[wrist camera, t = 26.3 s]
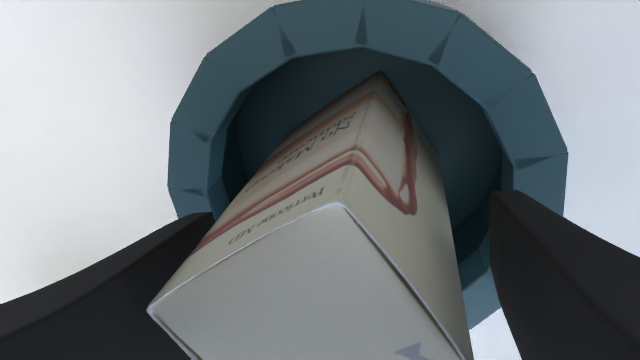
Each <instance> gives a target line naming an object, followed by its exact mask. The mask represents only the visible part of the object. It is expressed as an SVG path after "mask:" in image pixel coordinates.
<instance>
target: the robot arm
mask: <svg viewBox="0 0 640 360" xmlns="http://www.w3.org/2000/svg"><path fill="white" fill-rule="evenodd" d="M489 212H490V267H491V271H492V275H493V279H494V283H495V287H496V291H497V295H498V299H499V302H500V304H501V307H502V310H503V312H504V315H505V317H506V320H507V323H508V325H509V328H510V330H511V333H512V335H513V338H514V340H515V343H516V345H517V348H518V350H519V353H520V356H521V358H522V360H640V257H638V256H635V255H633V254H631V253H629V252H627V251H625V250H623V249H621V248H619V247H617V246H615V245H613V244H611V243H609V242H607V241H605V240H603V239H601V238H599V237H598V236H596V235H594V234H592V233H590V232H588V231H587V230H585V229H583V228H581V227H579V226H578V225H576V224H574V223H572V222H571V221H569V220H567V219H566V218H564V217H562V216H561V215H559V214H557V213H556V212H554V211H552V210H551V209H549V208H547V207H546V206H544V205H543V204H541V203H539V202H538V201H536V200H535V199H533V198H531V197H530V196H528V195H526V194H525V193H523V192H521V191H519V190H507V191H493V192H489ZM215 223H216V220H215V217H214V214H213V212H200V213H192V214H189V215H186V216H184V217H182V218H180V219H178V220H175V221H173V222H172V223H170V224H168V225H166V226H164V227H162V228H160V229H158V230H156V231H155V232H153V233H151V234H149V235H147V236H145V237H144V238H142V239H140V240H138V241H136V242H135V243H133V244H131V245H129V246H127V247H125V248H124V249H122V250H120V251H118V252H116V253H114V254H112V255H110V256H108V257H106V258H104V259H103V260H101V261H99V262H97V263H95V264H93V265H91V266H89V267H87V268H85V269H83V270H81V271H79V272H77V273H75V274H73V275H71V276H68V277H66V278H64V279H62V280H60V281H57V282H55V283H53V284H51V285H48V286H46V287H44V288H41V289H39V290H37V291H34V292H32V293H29V294H27V295H24V296H22V297H19V298H16V299H14V300H11V301H8V302H6V303H3V304H0V360H191V358H190V357H189V356H188V355H187V354H186V353H185V351H184V350H183V349H181V347H180V346H179V345H178V344H177V343H176V342H175V341H174V340H173V339H172V338H171V337H170V335H169V334H168V333H167V332H166V331H165V330H164V329H163V328H162V327H161V326H160V325H159V324H158V323H157V322H156V321H154V320H153V318H152V317H151V316H150V315H149V314H148V313H147V310H146V309H147V307H148V305H149V304H150V303H151V301H152V300H153V299H154V298H155V297H156V295H157V294H158V293H159V292H160V290H161V289H162V288H163V287H164V285H165V284H166V283H167V282H168V281H169V280H170V278H171V277H172V276H173V275H174V273H175V272H176V271H177V270H178V269H179V267H180V266H181V265H182V264H183V262H184V261H185V260H186V259H187V257H188V256H189V255H190V253H191V252H192V251H193V250H194V249H195V248H196V246H197V245H198V244H199V243H200V241H201V240H202V239H203V237H204V236H205V235H206V234H207V232H208V231H209V230H210V229H211V227H212V226H213V225H214V224H215Z"/></svg>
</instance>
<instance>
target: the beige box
mask: <svg viewBox="0 0 640 360" xmlns="http://www.w3.org/2000/svg"><path fill="white" fill-rule="evenodd" d="M146 310H147V313H148V314H149V315H150V316H151V317H152V318H153V320H154V321H156V322H157V323H158V324H159V325H160V326H161V327H162V328H163V329H164V330H165V331H166V332H167V333H168V334H169V335H170V337H171V338H172V339H173V340H174V341H175V342H176V343H177V344H178V345H179V346H180V347H181V349H183V350H184V351H185V353H186V354H187V355H188V356H189V357H190V358H191V359H192V360H474V357H473V352H472V346H471V341H470V335H469V329H468V323H467V317H466V312H465V306H464V301H463V295H462V288H461V283H460V277H459V272H458V266H457V259H456V254H455V248H454V242H453V236H452V230H451V224H450V218H449V213H448V207H447V201H446V196H445V190H444V184H443V179H442V172H441V167H440V162H439V158H438V155H437V154H436V152H435V150H434V149H433V147H432V145H431V144H430V142H429V140H428V138H427V137H426V135H425V134H424V132H423V130H422V129H421V127H420V126H419V124H418V122H417V121H416V119H415V117H414V116H413V114H412V113H411V111H410V110H409V108H408V107H407V105H406V104H405V102H404V101H403V99H402V98H401V96H400V95H399V93H398V92H397V91H396V89H395V88H394V86H393V85H392V83H391V82H390V81H389V79H388V78H387V76H386V75H385V74H384V73H383V72H382V71H378V72H376V73H374V74H373V75H371V76H369V77H368V78H366V79H365V80H363V81H361V82H360V83H358V84H357V85H355V86H354V87H352V88H351V89H349V90H348V91H346V92H345V93H343V94H342V95H340V96H339V97H337V98H336V99H335V100H333V101H332V102H330V103H329V104H327V105H326V106H324V107H323V108H322V109H320V110H319V111H317V112H316V113H315V114H313V115H312V116H310V117H309V118H308V119H306V120H305V121H304V122H302V123H301V124H300V125H298V126H297V127H296V128H294V129H293V130H292V131H291V132H289V133H288V134H287V135H286V136H285V137H284V138H283V139H282V141H281V142H280V143H279V145H278V146H277V147H276V148H275V149H274V150H273V152H272V153H271V154H270V155H269V156H268V158H267V159H266V160H265V161H264V163H263V164H262V165H261V167H260V168H259V169H258V171H257V172H256V173H255V175H254V176H253V177H252V178H251V179H250V181H249V182H248V183H247V184H246V185H245V187H244V188H243V189H242V190H241V192H240V193H239V194H238V195H237V196H236V198H235V199H234V200H233V201H232V202H231V204H230V205H229V206H228V207H227V209H226V210H225V211H224V212H223V214H222V215H221V216H220V218H219V219H218V220H217V221H216V223H215V224H214V225H213V226H212V227H211V229H210V230H209V231H208V232H207V234H206V235H205V236H204V237H203V239H202V240H201V241H200V243H199V244H198V245H197V246H196V248H195V249H194V250H193V251H192V252H191V253H190V255H189V256H188V257H187V259H186V260H185V261H184V262H183V264H182V265H181V266H180V267H179V269H178V270H177V271H176V272H175V273H174V275H173V276H172V277H171V278H170V280H169V281H168V282H167V283H166V284H165V285H164V287H163V288H162V289H161V290H160V292H159V293H158V294H157V295H156V297H155V298H154V299H153V300H152V301H151V303H150V304H149V305H148V307H147V309H146Z"/></svg>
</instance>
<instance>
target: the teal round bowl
mask: <svg viewBox="0 0 640 360" xmlns="http://www.w3.org/2000/svg"><path fill="white" fill-rule="evenodd" d="M378 71H382V72H383V73H384V74H385V75H386V76H387V78H388V79H389V81H390V82H391V83H392V85H393V86H394V88H395V89H396V91H397V92H398V93H399V95H400V96H401V98H402V99H403V101H404V102H405V104H406V105H407V107H408V108H409V110H410V111H411V113H412V114H413V116H414V117H415V119H416V121H417V122H418V124H419V126H420V127H421V129H422V130H423V132H424V134H425V135H426V137H427V138H428V140H429V142H430V144H431V145H432V147H433V149H434V150H435V152H436V154H437V155H438V158H439V162H440V167H441V172H442V179H443V184H444V190H445V196H446V201H447V207H448V213H449V218H450V224H451V230H452V236H453V242H454V248H455V254H456V259H457V266H458V272H459V277H460V283H461V288H462V295H463V301H464V306H465V312H466V317H467V323H468V329H472V328H473V327H475V326H476V325H478V324H479V323H480V322H482V321H483V320H484V319H486V318H487V317H489V316H490V315H491V314H493V313H494V312H495V311H497V310H498V309H500V308H501V304H500V302H499V299H498V295H497V291H496V287H495V283H494V279H493V275H492V271H491V267H490V212H489V192H493V191H507V190H519V191H521V192H523V193H525V194H526V195H528V196H530V197H531V198H533V199H535V200H536V201H538V202H539V203H541V204H543V205H544V206H546V207H547V208H549V209H551V210H552V211H554V212H556V213H557V214H559V215H561V216H562V217H563V212H564V199H565V187H566V175H567V163H568V152H567V147H566V145H565V143H564V140H563V138H562V136H561V133H560V131H559V129H558V126H557V124H556V122H555V119H554V117H553V115H552V112H551V110H550V108H549V106H548V103H547V101H546V99H545V96H544V94H543V92H542V89H541V87H540V85H539V82H538V80H537V78H536V75H535V74H534V73H532V71H531V69H530V68H528V67H527V66H526V65H525V64H523V63H522V62H521V61H520V60H519V59H517V58H516V57H515V56H514V55H513V54H511V53H510V52H509V51H508V50H506V49H505V48H504V47H503V46H502V45H500V44H499V43H498V42H497V41H496V40H494V39H493V38H492V37H491V36H489V35H488V34H487V33H486V32H485V31H483V30H482V29H481V28H480V27H478V26H477V25H476V24H475V23H474V22H472V21H471V20H470V19H469V18H468V17H466V16H465V15H464V14H462V13H459V12H458V11H456V10H454V9H451V8H449V7H446V6H444V5H441V4H439V3H435V2H431V1H427V0H299V1H294V2H289V3H284V4H278V5H274V6H273V7H270V8H269V9H267V10H266V11H264V12H263V13H262V14H260V15H259V16H258V17H256V18H255V19H254V20H252V21H251V22H249V23H248V24H247V25H245V26H244V27H243V28H241V29H240V30H239V31H237V32H236V33H235V34H233V35H232V36H230V37H229V38H228V39H226V40H225V41H224V42H222V43H221V44H220V45H218V46H217V47H215V48H214V49H213V50H211V51H210V52H209V53H207V55H206V56H205V57H204V58H203V60H202V62H201V64H200V66H199V68H198V70H197V72H196V74H195V75H194V77H193V79H192V81H191V83H190V85H189V87H188V89H187V91H186V92H185V94H184V96H183V98H182V100H181V102H180V104H179V106H178V108H177V110H176V111H175V113H174V115H173V117H172V121H171V123H170V142H169V163H168V184H167V186H168V191H169V193H170V196H171V199H172V202H173V204H174V207H175V210H176V213H177V216H178V218H179V219H180V218H182V217H184V216H186V215H189V214H192V213H200V212H213V214H214V217H215V220H216V221H217V220H218V219H219V218H220V216H221V215H222V214H223V212H224V211H225V210H226V209H227V207H228V206H229V205H230V204H231V202H232V201H233V200H234V199H235V198H236V196H237V195H238V194H239V193H240V192H241V190H242V189H243V188H244V187H245V185H246V184H247V183H248V182H249V181H250V179H251V178H252V177H253V176H254V175H255V173H256V172H257V171H258V169H259V168H260V167H261V165H262V164H263V163H264V161H265V160H266V159H267V158H268V156H269V155H270V154H271V153H272V152H273V150H274V149H275V148H276V147H277V146H278V145H279V143H280V142H281V141H282V139H283V138H284V137H285V136H286V135H287V134H288V133H289V132H291V131H292V130H293V129H294V128H296V127H297V126H298V125H300V124H301V123H302V122H304V121H305V120H306V119H308V118H309V117H310V116H312V115H313V114H315V113H316V112H317V111H319V110H320V109H322V108H323V107H324V106H326V105H327V104H329V103H330V102H332V101H333V100H335V99H336V98H337V97H339V96H340V95H342V94H343V93H345V92H346V91H348V90H349V89H351V88H352V87H354V86H355V85H357V84H358V83H360V82H361V81H363V80H365V79H366V78H368V77H369V76H371V75H373V74H374V73H376V72H378Z"/></svg>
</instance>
